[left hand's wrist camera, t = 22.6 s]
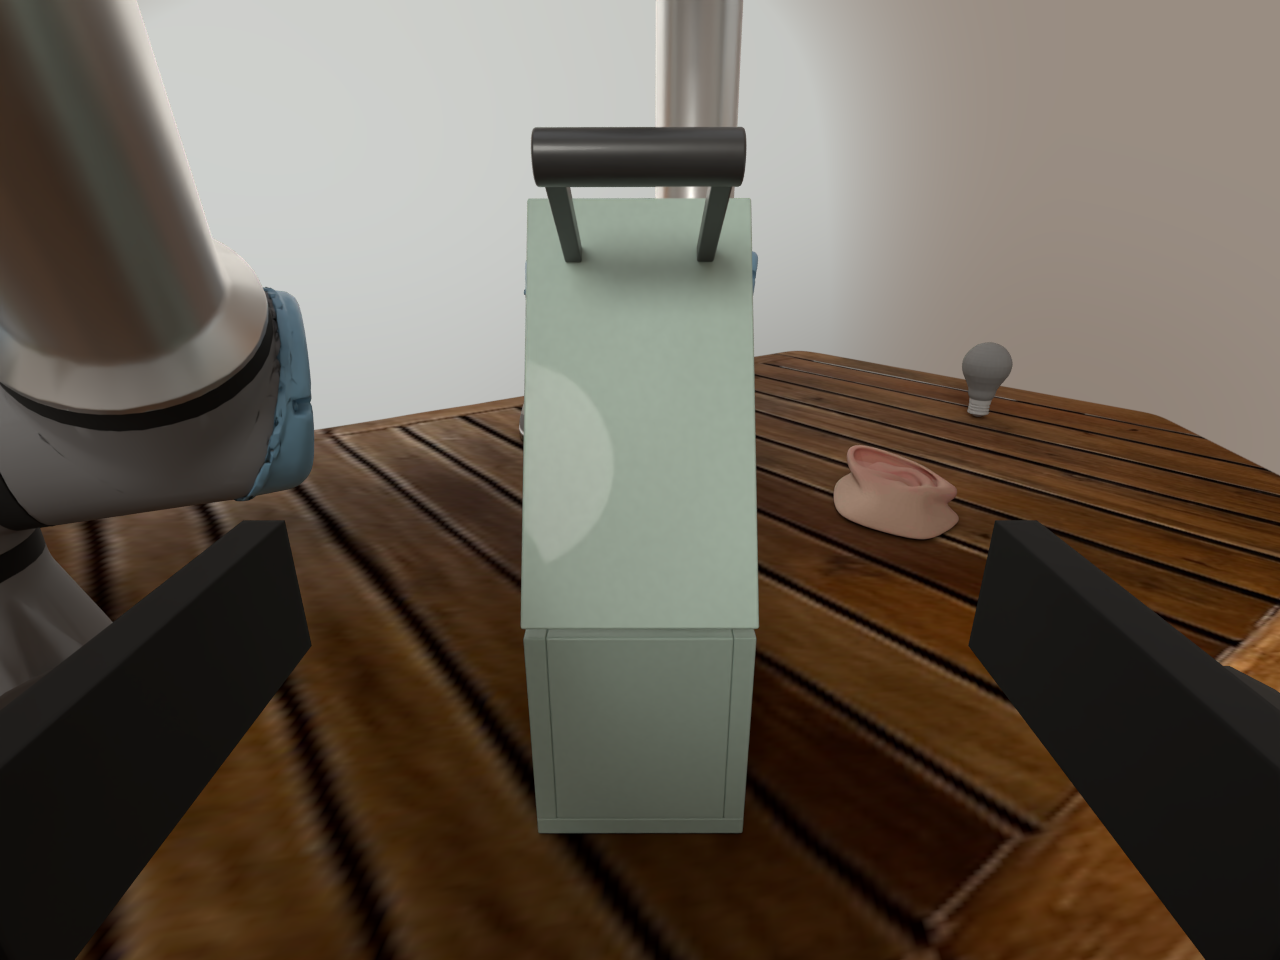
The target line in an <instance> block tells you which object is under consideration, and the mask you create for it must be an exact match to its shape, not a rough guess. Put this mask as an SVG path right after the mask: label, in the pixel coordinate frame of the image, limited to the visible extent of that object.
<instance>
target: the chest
mask: <svg viewBox="0 0 1280 960" xmlns="http://www.w3.org/2000/svg"><path fill="white" fill-rule="evenodd" d="M755 651H756V635H755V632H754V629H526V632H525V635H524V652H525V665H526V678H527V691H528V704H529V717H530V730H531V743H532V756H533V769H534V782H535V795H536V808H537V822H538V832H539V833H742V830H743V817H744V803H745V789H746V775H747V762H748V748H749V734H750V720H751V706H752V692H753V678H754V665H755Z"/></svg>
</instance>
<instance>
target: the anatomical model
mask: <svg viewBox="0 0 1280 960" xmlns="http://www.w3.org/2000/svg"><path fill="white" fill-rule="evenodd" d="M847 462H848V466H849V469H850V471H851V473H850V474H848V475H846V476H844V477H843V478H841V479H840V480H839V481H838V482H837V483H836V486H835V489H834V503H835V506H836V509H837V510H838V512H839V513H840V514H841V515H842V516H844V517H845V518H847V519H849V520H851V521H853V522H855V523H857V524H860V525H863V526H866V527H869V528H872V529H875V530H878V531H882V532H885V533H889V534H893V535H897V536H902V537H906V538H913V539H930V538H933V537H936V536H939V535H941V534H942V533H944V532H946V531H948V530H949V529H951V528H952V527H953V526H954V525H955V524H956V523H957V522H958V520H959V518H958V516H957V514H956V513H955V512H954V511H953V510H952V509H951V508H950V507H949V506H948V505H947V503H948V502H949V501H951V500H952V499H954V498H955V496H956V494H957V489H956V488H955V487H954V486H953V485H952V484H950V483H949V482H947V481H946V480H944V479H943V478H941V477H940V476H938V475H937V474H935V473H934V472H932V471H931V470H929V469H928V468H926V467H924V466H922V465H920V464H918V463H916V462H913V461H911V460H909V459H906V458H903V457H901V456H898V455H895V454H892V453H890V452H887V451H883V450H880V449H877V448H873V447H868V446H862V445H856V446H853V447H851V448H850V449H849V450H848V453H847Z"/></svg>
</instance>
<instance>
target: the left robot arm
mask: <svg viewBox="0 0 1280 960" xmlns="http://www.w3.org/2000/svg"><path fill="white" fill-rule="evenodd" d="M310 401H311V379H310V369H309V360H308V351H307V344H306V337H305V330H304V325H303V320H302V314H301V311H300V307H299V304H298V302H297V300H296V299H295V298H294V297H293V296H292V295H290V294H289V293H287V292H283V291H275V290H273V289H272V288H267V287H265V288H263V287H262V285H261V283H260V281H259V279H258V277H257V275H256V273H255V271H254V270H253V269H252V268H251V267H250V266H249V264H248V263H247V262H246V261H245V260H244V259H243V258H242V257H241V256H239V255H238V254H237V253H236V252H235V251H233V250H232V249H230V248H229V247H227V246H226V245H224V244H223V243H221V242H219V241H217V240H215V239H213V238H212V235H211V232H210V228H209V225H208V222H207V219H206V216H205V213H204V210H203V206H202V203H201V200H200V197H199V194H198V191H197V188H196V185H195V181H194V178H193V175H192V172H191V169H190V166H189V162H188V159H187V156H186V153H185V150H184V147H183V144H182V140H181V137H180V134H179V131H178V128H177V125H176V122H175V118H174V115H173V112H172V109H171V106H170V103H169V100H168V96H167V93H166V90H165V87H164V84H163V81H162V78H161V75H160V71H159V68H158V65H157V62H156V59H155V56H154V52H153V49H152V46H151V43H150V40H149V37H148V34H147V31H146V27H145V24H144V21H143V18H142V15H141V12H140V8H139V5H138V2H137V0H0V960H75V958H76V957H77V956H78V954H79V953H80V952H81V950H82V949H83V948H84V946H85V945H86V944H87V942H88V941H89V940H90V939H91V937H92V936H93V935H94V933H95V932H96V931H97V929H98V928H99V927H100V925H101V924H102V923H103V921H104V920H105V919H106V917H107V916H108V915H109V913H110V912H111V911H112V909H113V908H114V907H115V905H116V904H117V903H118V901H119V900H120V899H121V897H122V896H123V895H124V893H125V892H126V891H127V889H128V888H129V887H130V886H131V884H132V883H133V882H134V880H135V879H136V878H137V876H138V875H139V874H140V872H141V871H142V870H143V868H144V867H145V866H146V864H147V863H148V862H149V860H150V859H151V858H152V856H153V855H154V854H155V852H156V851H157V850H158V848H159V847H160V846H161V844H162V843H163V842H164V840H165V839H166V838H167V836H168V835H169V834H170V833H171V831H172V830H173V829H174V827H175V826H176V825H177V823H178V822H179V821H180V819H181V818H182V817H183V815H184V814H185V813H186V811H187V810H188V809H189V807H190V806H191V805H192V803H193V802H194V801H195V799H196V798H197V797H198V795H199V794H200V793H201V791H202V790H203V789H204V787H205V786H206V785H207V783H208V782H209V781H210V780H211V778H212V777H213V776H214V774H215V773H216V772H217V770H218V769H219V768H220V766H221V765H222V764H223V762H224V761H225V760H226V758H227V757H228V756H229V754H230V753H231V752H232V750H233V749H234V748H235V746H236V745H237V744H238V742H239V741H240V740H241V738H242V737H243V736H244V734H245V733H246V732H247V730H248V729H249V728H250V727H251V725H252V724H253V723H254V721H255V720H256V719H257V717H258V716H259V715H260V713H261V712H262V711H263V709H264V708H265V707H266V705H267V704H268V703H269V701H270V700H271V699H272V697H273V696H274V695H275V693H276V692H277V691H278V689H279V688H280V687H281V685H282V684H283V683H284V681H285V680H286V679H287V677H288V676H289V675H290V674H291V672H292V671H293V670H294V668H295V667H296V666H297V664H298V663H299V662H300V660H301V659H302V658H303V656H304V655H305V654H306V652H307V651H308V650H309V648H310V647H311V641H310V636H309V632H308V627H307V622H306V618H305V613H304V608H303V604H302V599H301V594H300V590H299V585H298V580H297V576H296V571H295V566H294V562H293V557H292V552H291V548H290V543H289V538H288V534H287V529H286V524H285V521H242V522H241V523H239V524H238V525H237V526H236V527H234V528H233V529H232V530H230V531H229V532H228V533H227V534H225V535H224V536H223V537H221V538H220V539H219V540H218V541H216V542H215V543H214V544H213V545H211V546H210V547H209V548H207V549H206V550H205V551H204V552H202V553H201V554H200V555H198V556H197V557H196V558H195V559H193V560H192V561H191V562H189V563H188V564H187V565H186V566H184V567H183V568H182V569H181V570H179V571H178V572H177V573H175V574H174V575H173V576H172V577H170V578H169V579H168V580H166V581H165V582H164V583H163V584H161V585H160V586H159V587H157V588H156V589H155V590H154V591H152V592H151V593H150V594H149V595H147V596H146V597H145V598H143V599H142V600H141V601H140V602H138V603H137V604H136V605H134V606H133V607H132V608H131V609H129V610H128V611H127V612H126V613H124V614H123V615H122V616H120V617H119V618H118V619H117V620H115V621H114V622H111V620H110V619H109V618H108V616H107V615H106V614H105V613H104V612H103V611H102V610H101V609H100V608H99V607H98V606H97V605H96V604H95V603H94V601H93V600H92V599H91V598H90V597H89V596H88V595H87V594H86V593H85V592H84V591H83V590H82V589H81V588H80V586H79V585H78V584H77V583H76V582H75V581H74V580H73V579H72V578H71V577H70V576H69V575H68V574H67V572H66V571H65V570H64V569H63V568H62V567H61V566H60V565H59V564H58V563H57V562H56V561H55V560H54V558H53V557H52V556H51V554H50V553H49V551H48V548H47V546H46V543H45V541H44V538H43V535H42V532H41V530H40V528H42V527H48V526H55V525H61V524H68V523H75V522H82V521H88V520H95V519H102V518H109V517H116V516H122V515H129V514H136V513H143V512H150V511H156V510H163V509H170V508H177V507H184V506H190V505H197V504H204V503H212V502H219V501H227V500H235V501H247V500H250V499H252V498H254V497H255V496H257V495H262V494H267V493H272V492H277V491H282V490H287V489H291V488H294V487H296V486H298V485H299V484H301V483H302V482H303V481H304V480H305V479H306V478H307V477H308V475H309V473H310V471H311V469H312V465H313V458H314V423H313V411H312V406H311V404H310ZM968 646H969V647H970V648H971V650H972V651H973V652H974V654H975V655H976V656H977V658H978V659H979V660H980V662H981V663H982V664H983V666H984V667H985V668H986V670H987V671H988V672H989V674H990V675H991V676H992V677H993V679H994V680H995V681H996V683H997V684H998V685H999V687H1000V688H1001V689H1002V691H1003V692H1004V693H1005V695H1006V696H1007V697H1008V699H1009V700H1010V701H1011V703H1012V704H1013V705H1014V707H1015V708H1016V709H1017V711H1018V712H1019V713H1020V715H1021V716H1022V717H1023V719H1024V720H1025V721H1026V723H1027V724H1028V725H1029V727H1030V728H1031V729H1032V730H1033V732H1034V733H1035V734H1036V736H1037V737H1038V738H1039V740H1040V741H1041V742H1042V744H1043V745H1044V746H1045V748H1046V749H1047V750H1048V752H1049V753H1050V754H1051V756H1052V757H1053V758H1054V760H1055V761H1056V762H1057V764H1058V765H1059V766H1060V768H1061V769H1062V770H1063V772H1064V773H1065V774H1066V776H1067V777H1068V778H1069V780H1070V781H1071V782H1072V783H1073V785H1074V786H1075V787H1076V789H1077V790H1078V791H1079V793H1080V794H1081V795H1082V797H1083V798H1084V799H1085V801H1086V802H1087V803H1088V805H1089V806H1090V807H1091V809H1092V810H1093V811H1094V813H1095V814H1096V815H1097V817H1098V818H1099V819H1100V821H1101V822H1102V823H1103V825H1104V826H1105V827H1106V829H1107V830H1108V831H1109V833H1110V834H1111V835H1112V836H1113V838H1114V839H1115V840H1116V842H1117V843H1118V844H1119V846H1120V847H1121V848H1122V850H1123V851H1124V852H1125V854H1126V855H1127V856H1128V858H1129V859H1130V860H1131V862H1132V863H1133V864H1134V866H1135V867H1136V868H1137V870H1138V871H1139V872H1140V874H1141V875H1142V876H1143V878H1144V879H1145V880H1146V882H1147V883H1148V884H1149V886H1150V887H1151V888H1152V889H1153V891H1154V892H1155V893H1156V895H1157V896H1158V897H1159V899H1160V900H1161V901H1162V903H1163V904H1164V905H1165V907H1166V908H1167V909H1168V911H1169V912H1170V913H1171V915H1172V916H1173V917H1174V919H1175V920H1176V921H1177V923H1178V924H1179V925H1180V927H1181V928H1182V929H1183V931H1184V932H1185V933H1186V935H1187V936H1188V937H1189V939H1190V940H1191V941H1192V942H1193V944H1194V945H1195V946H1196V948H1197V949H1198V950H1199V952H1200V953H1201V954H1202V956H1203V957H1204V958H1205V960H1280V693H1279V692H1278V691H1276V690H1275V689H1273V688H1271V687H1269V686H1267V685H1265V684H1263V683H1261V682H1259V681H1257V680H1255V679H1253V678H1252V677H1250V676H1248V675H1246V674H1244V673H1242V672H1240V671H1238V670H1236V669H1234V668H1232V667H1230V666H1222V665H1221V664H1220V663H1218V662H1217V661H1216V660H1215V659H1213V658H1212V657H1211V656H1210V655H1208V654H1207V653H1206V652H1204V651H1203V650H1202V649H1201V648H1199V647H1198V646H1197V645H1195V644H1194V643H1193V642H1192V641H1190V640H1189V639H1188V638H1186V637H1185V636H1184V635H1183V634H1181V633H1180V632H1179V631H1178V630H1176V629H1175V628H1174V627H1172V626H1171V625H1170V624H1169V623H1167V622H1166V621H1165V620H1163V619H1162V618H1161V617H1160V616H1158V615H1157V614H1156V613H1154V612H1153V611H1152V610H1151V609H1149V608H1148V607H1147V606H1146V605H1144V604H1143V603H1142V602H1140V601H1139V600H1138V599H1137V598H1135V597H1134V596H1133V595H1131V594H1130V593H1129V592H1128V591H1126V590H1125V589H1124V588H1123V587H1121V586H1120V585H1119V584H1117V583H1116V582H1115V581H1114V580H1112V579H1111V578H1110V577H1108V576H1107V575H1106V574H1105V573H1103V572H1102V571H1101V570H1099V569H1098V568H1097V567H1096V566H1094V565H1093V564H1092V563H1091V562H1089V561H1088V560H1087V559H1085V558H1084V557H1083V556H1082V555H1080V554H1079V553H1078V552H1076V551H1075V550H1074V549H1073V548H1071V547H1070V546H1069V545H1067V544H1066V543H1065V542H1064V541H1062V540H1061V539H1060V538H1059V537H1057V536H1056V535H1055V534H1053V533H1052V532H1051V531H1050V530H1048V529H1047V528H1046V527H1044V526H1043V525H1042V524H1041V523H1039V522H1038V521H995V524H994V529H993V534H992V538H991V543H990V548H989V552H988V557H987V562H986V566H985V571H984V576H983V580H982V585H981V590H980V594H979V599H978V604H977V608H976V613H975V618H974V622H973V627H972V632H971V636H970V641H969V645H968Z"/></svg>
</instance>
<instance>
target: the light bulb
mask: <svg viewBox="0 0 1280 960" xmlns="http://www.w3.org/2000/svg"><path fill="white" fill-rule="evenodd" d="M1011 369H1012V359H1011V356H1010V354H1009V352H1008V351H1007V350H1006V349H1005V348H1004V347H1003V346H1001V345H999V344H996V343H991V342H988V343H982V344H979V345H977V346H975V347H973V348H972V349H971V350H970V351H969V352H968V353H967V354H966V355H965V357H964V359H963V363H962V370H963V374H964V377H965V379H966V381H967V384H968V387H969V389H968V394H969V397H970V400H969V402H970V403H969V406H968V407H969V408H968V411H967V412H969V413H970V414H972V415H973V416H977V417H981V416H984V415H987V414H989V412H988V411H989V409H988V408H990V407H989V405H990V403H991V400H992V399H993V398H994V396H995V393H996V390H997V389H998V388H999V386H1000V385H1001V384H1002V383H1003V382H1004V380H1005V379H1006V378H1007V377H1008V376H1009V374H1010V372H1011Z"/></svg>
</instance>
